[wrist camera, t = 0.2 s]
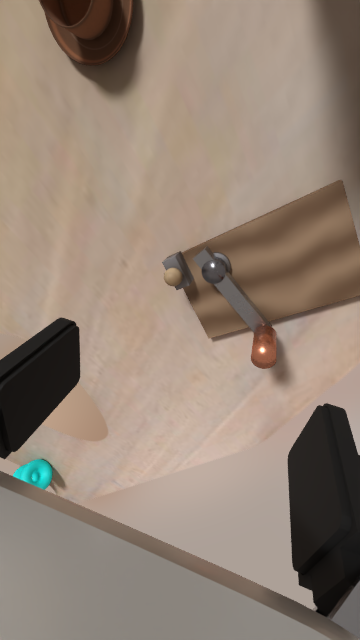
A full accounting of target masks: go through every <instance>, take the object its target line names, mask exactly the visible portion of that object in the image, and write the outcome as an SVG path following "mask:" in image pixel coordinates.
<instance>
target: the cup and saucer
mask: <svg viewBox="0 0 360 640" xmlns="http://www.w3.org/2000/svg"><path fill="white" fill-rule="evenodd" d="M39 1H40V4H41V6H42V8H43V10H44V11H45V16H46V19H47V22H48V25H49V28H50V30H51V32H52V35H53V37H54V38H55V40H56V42H57V43H58V45H59V46H60V48H61V49H62V50H63V51H64V52H65V53H66V54H67V55H68V56H69V57H70V58H72V59H73V60H75V61H76V62H78V63H81V64H84V65H99V64H102V63H105V62H107V61H108V60H110V59H111V58H112V57H113V56H114V55H115V54H116V53H117V52H118V51H119V50H120V48H121V47H122V45H123V43H124V41H125V39H126V37H127V34H128V31H129V28H130V24H131V20H132V13H133V0H39Z"/></svg>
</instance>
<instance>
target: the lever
mask: <svg viewBox="0 0 360 640" xmlns="http://www.w3.org/2000/svg"><path fill="white" fill-rule="evenodd" d="M193 260H194V261H195V262H196V263H197V265H198V266H199V267H200V268H201V269H202V276H203V278H204V280H205V281H207V282H208V283H211V284H214V285H215V286H216V287H217V289H218V290H219V291H220V292H221V293H222V295H223V296H224V297H225V298H226V299H227V301H228V302H229V303H230V304H231V305H232V307H233V308H234V309H235V310H236V311H237V313H238V314H239V315H240V316H241V317H242V319H243V320H244V321H245V322H246V323H247V325H248V326H249V327H250V328H251V329H252V331H253V332H254V338H253V346H252V354H251V361H252V363H253V364H254V365H255V366H257V367H259V368H262V369H267V368H270V367H272V366H274V365H275V363H276V331H275V330H274V329H273V328H272V325H271V324H270V323H269V321H268V320H267V319H266V318H265V316H264V315H263V314H262V313H261V312H260V310H259V309H258V308H257V307H256V305H255V304H254V303H253V302H252V300H251V299H250V298H249V297H248V296H247V294H246V293H245V292H244V291H243V289H242V288H241V287H240V286H239V284H238V283H237V282H236V281H235V280H234V278H233V277H232V276H231V275H230V273H229V272H228V271H227V265H226V262H225V261H224V260H223V259H221V258H219V257H216V256H215V255H214V254H213V252H212V251H211V250H210V249H209V248H208V246H206V247H205V248H204V249H203V250H201V251H200V252H199V253H198V254H197V255H195V257H194V258H193Z"/></svg>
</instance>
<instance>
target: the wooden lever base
mask: <svg viewBox="0 0 360 640" xmlns="http://www.w3.org/2000/svg"><path fill="white" fill-rule="evenodd" d="M206 246H208V248H209V249H210V250H211V251H212V252H213V254H214V255H215V256H216V257H219V258H221V259H223V260H224V261H225V262H226V265H227V271H228V272H229V273H230V275H231V276H232V277H233V278H234V280H235V281H236V282H237V283H238V284H239V286H240V287H241V288H242V289H243V291H244V292H245V293H246V294H247V296H248V297H249V298H250V299H251V300H252V302H253V303H254V304H255V305H256V307H257V308H258V309H259V310H260V312H261V313H262V314H263V315H264V316H265V318H266V319H267V320H268V321H272V320H276V319H279V318H283V317H286V316H290V315H293V314H297V313H300V312H304V311H307V310H311V309H314V308H318V307H321V306H325V305H328V304H332V303H335V302H339V301H342V300H346V299H349V298H353V297H356V296H360V245H359V241H358V238H357V234H356V230H355V226H354V223H353V219H352V215H351V211H350V208H349V204H348V200H347V196H346V193H345V189H344V185H343V181H342V180H339V181H336V182H334V183H332V184H330V185H328V186H326V187H323V188H321V189H319V190H317V191H315V192H313V193H310V194H308V195H306V196H304V197H302V198H299V199H297V200H295V201H293V202H291V203H289V204H286V205H284V206H282V207H280V208H278V209H276V210H273V211H271V212H269V213H267V214H265V215H263V216H260V217H258V218H256V219H254V220H252V221H249V222H247V223H245V224H243V225H241V226H239V227H236V228H234V229H232V230H230V231H228V232H226V233H223V234H221V235H219V236H217V237H215V238H212V239H210V240H208V241H206V242H204V243H202V244H199V245H197V246H195V247H193V248H191V249H189V250H186V251H184V252H182V253H181V251H180V252H178V253H175V254H173V255H171V256H169V257H167V258H166V259H165V260H164V261H163V262H162V263H163V265H164V267H165V269H166V272H165V274H164V280H165V282H166V283H167V284H168V285H170V286H175V288H176V290H179V289H181V288H183V289H184V291H185V293H186V295H187V297H188V299H189V301H190V303H191V305H192V307H193V309H194V311H195V312H196V314H197V316H198V318H199V320H200V322H201V324H202V326H203V328H204V330H205V332H206V334H207V336H208V338H213V337H216V336H220V335H223V334H227V333H230V332H234V331H237V330H241V329H244V328H248V327H249V326H248V325H247V323H246V322H245V321H244V320H243V319H242V317H241V316H240V315H239V314H238V313H237V311H236V310H235V309H234V308H233V307H232V305H231V304H230V303H229V302H228V301H227V299H226V298H225V297H224V296H223V295H222V293H221V292H220V291H219V290H218V289H217V287H216V286H215V285H214V284H211V283H208V282H207V281H205V280H204V278H203V276H202V269H201V268H200V267H199V266H198V265H197V263H196V262H195V261H194V260H193V258H194V257H195V255H197V254H198V253H199V252H200V251H201V250H203V249H204V248H205V247H206Z"/></svg>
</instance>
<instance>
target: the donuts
mask: <svg viewBox="0 0 360 640" xmlns="http://www.w3.org/2000/svg"><path fill="white" fill-rule="evenodd" d="M13 477H16V478H18V479H20V480H23V481H25V482H27V483H29V484H32V485H34V486H36V487H39V488H41V489H43V490H45V489H46V488H47V487H48V486H49V484H50V482H51V480H52V468H51V466H50V464H49V463H48V462H47V461H45V460H41V459H37V460H33V461H31V462H30V463H28V464H25V465H23V466H21V467H20V468H19V469H17V470H16V472H15V473H14V475H13Z"/></svg>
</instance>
